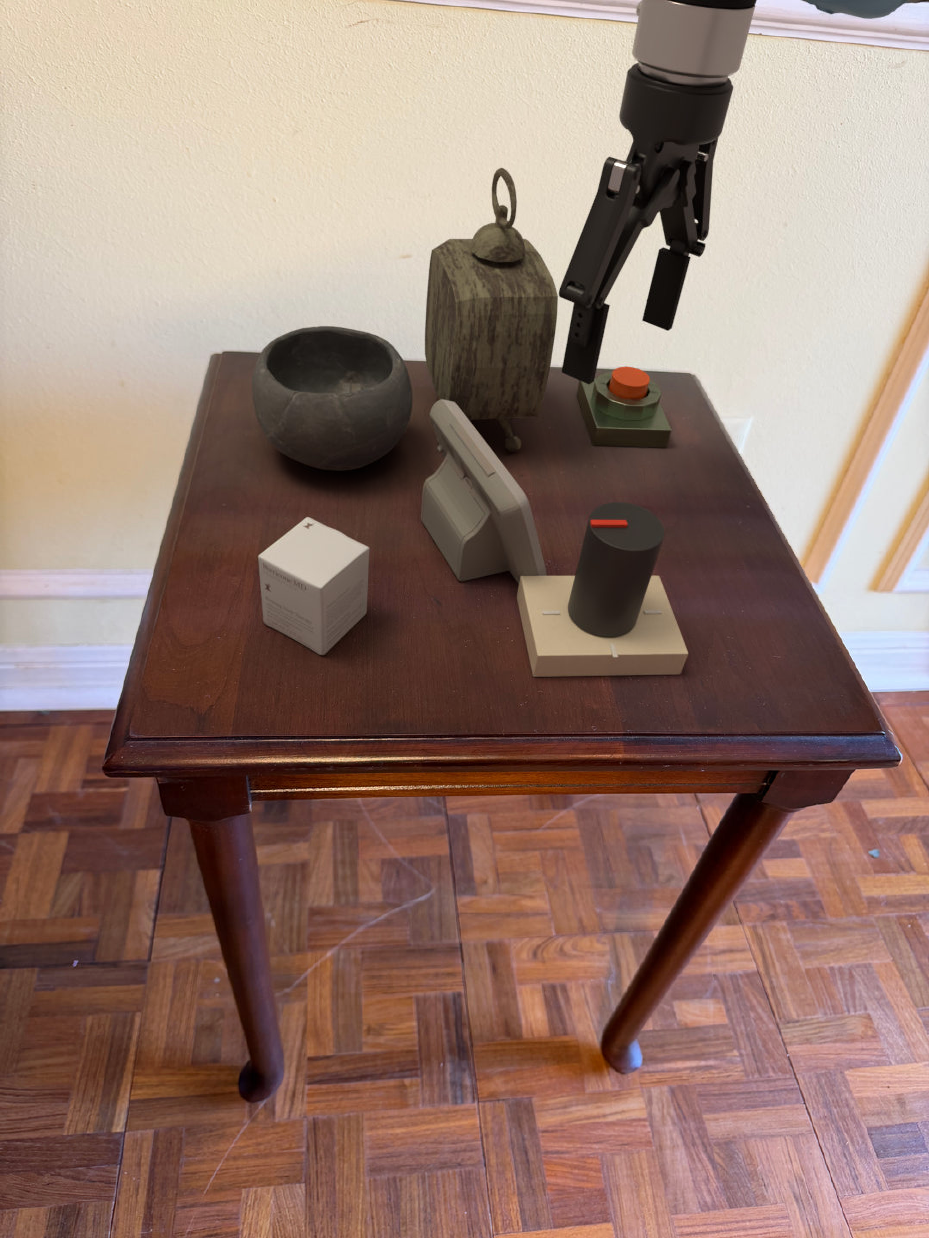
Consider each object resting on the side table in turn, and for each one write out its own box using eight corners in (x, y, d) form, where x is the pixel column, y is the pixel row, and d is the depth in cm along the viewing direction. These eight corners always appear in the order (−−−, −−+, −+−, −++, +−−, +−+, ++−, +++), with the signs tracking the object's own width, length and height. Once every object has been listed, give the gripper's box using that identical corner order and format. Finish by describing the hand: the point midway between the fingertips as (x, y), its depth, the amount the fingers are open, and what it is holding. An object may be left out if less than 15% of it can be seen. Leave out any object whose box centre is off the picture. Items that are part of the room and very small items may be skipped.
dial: (627, 588, 74) (655, 499, 68) (644, 637, 70) (674, 547, 64) (561, 588, 73) (582, 498, 67) (574, 638, 69) (598, 547, 63)
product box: (261, 624, 71) (254, 554, 66) (309, 582, 75) (307, 513, 70) (322, 658, 69) (321, 589, 64) (369, 613, 73) (371, 545, 68)
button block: (666, 447, 94) (676, 415, 91) (592, 445, 93) (600, 412, 90) (645, 397, 101) (653, 365, 98) (576, 394, 100) (582, 362, 97)
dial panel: (651, 593, 78) (658, 570, 76) (681, 678, 71) (691, 656, 69) (515, 593, 76) (519, 570, 74) (533, 681, 69) (538, 657, 67)
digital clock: (549, 599, 76) (571, 499, 69) (445, 608, 74) (457, 506, 67) (502, 484, 87) (517, 387, 80) (411, 489, 85) (417, 390, 78)
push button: (649, 402, 94) (654, 387, 92) (612, 400, 93) (616, 385, 92) (641, 381, 96) (645, 367, 95) (605, 380, 96) (608, 365, 95)
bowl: (416, 495, 84) (423, 402, 77) (255, 497, 82) (246, 401, 75) (402, 409, 95) (406, 320, 88) (258, 408, 92) (251, 317, 85)
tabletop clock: (533, 461, 90) (578, 206, 73) (446, 466, 88) (470, 205, 71) (498, 385, 100) (530, 144, 82) (418, 388, 98) (434, 142, 80)
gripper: (712, 36, 72) (651, 292, 86) (539, 84, 57) (500, 384, 71) (800, 58, 69) (721, 319, 84) (641, 114, 54) (579, 421, 68)
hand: (619, 349), depth 77 cm, fingers open, 13 cm apart
